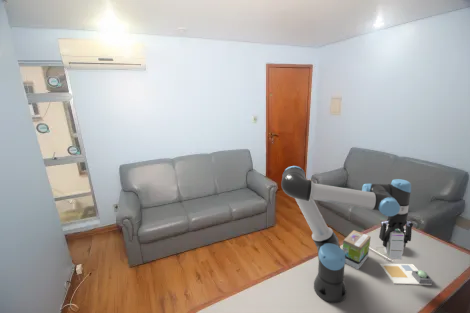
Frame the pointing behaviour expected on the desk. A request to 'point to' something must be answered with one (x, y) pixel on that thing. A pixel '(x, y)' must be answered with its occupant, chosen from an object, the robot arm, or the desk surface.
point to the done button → (422, 274)
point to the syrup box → (395, 244)
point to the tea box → (356, 248)
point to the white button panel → (405, 274)
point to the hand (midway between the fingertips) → (393, 252)
